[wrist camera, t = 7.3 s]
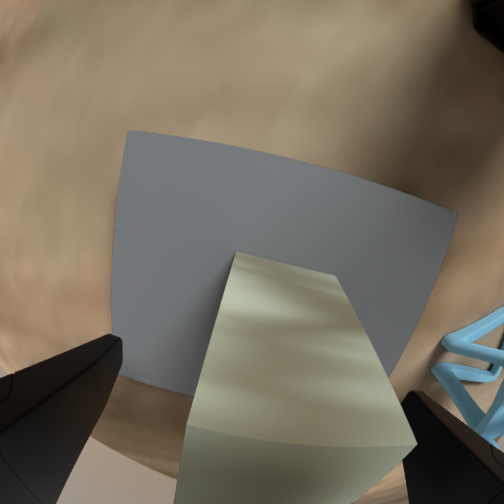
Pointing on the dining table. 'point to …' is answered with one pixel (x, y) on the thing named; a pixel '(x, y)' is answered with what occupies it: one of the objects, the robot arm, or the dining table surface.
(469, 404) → the light blue lattice frame
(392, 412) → the sage block
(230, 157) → the grey block
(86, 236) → the dining table surface
